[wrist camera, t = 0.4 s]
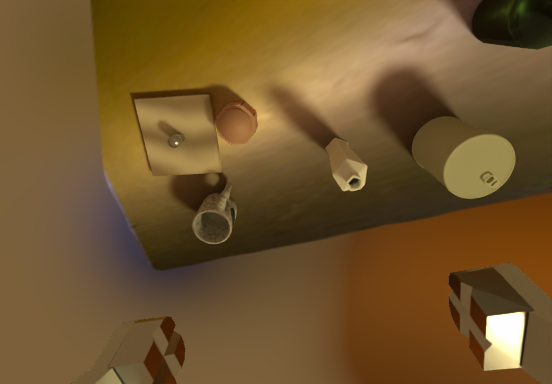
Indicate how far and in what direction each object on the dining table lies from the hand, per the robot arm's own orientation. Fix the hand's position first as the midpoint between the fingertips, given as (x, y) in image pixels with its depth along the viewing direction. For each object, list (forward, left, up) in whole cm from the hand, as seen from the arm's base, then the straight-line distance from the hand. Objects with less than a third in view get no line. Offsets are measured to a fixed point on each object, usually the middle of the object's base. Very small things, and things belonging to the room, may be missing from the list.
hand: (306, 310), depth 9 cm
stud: (+5, -19, -43) cm, 47 cm away
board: (+5, -19, -44) cm, 48 cm away
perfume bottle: (+9, +7, -44) cm, 46 cm away
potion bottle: (-9, +29, -44) cm, 54 cm away
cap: (+3, -9, -44) cm, 45 cm away
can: (+9, +24, -44) cm, 51 cm away
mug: (+17, -13, -44) cm, 50 cm away
